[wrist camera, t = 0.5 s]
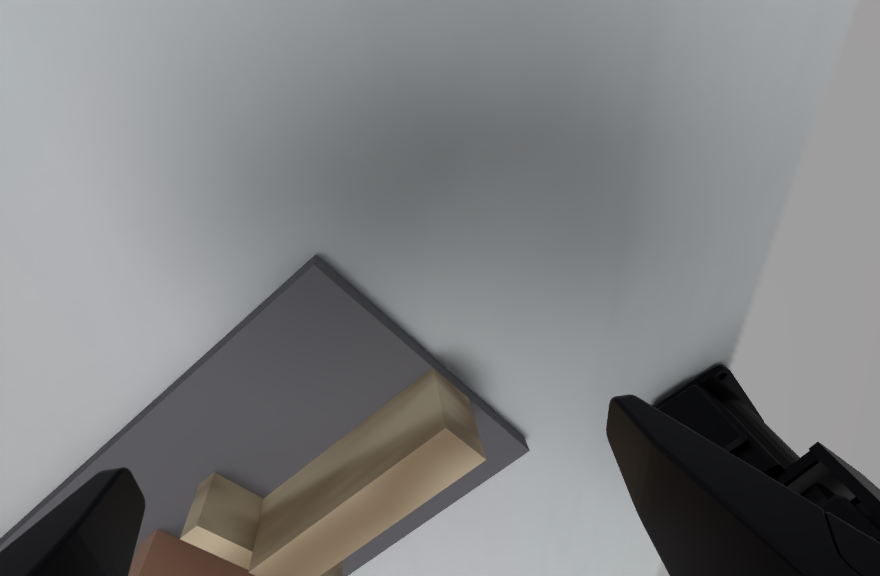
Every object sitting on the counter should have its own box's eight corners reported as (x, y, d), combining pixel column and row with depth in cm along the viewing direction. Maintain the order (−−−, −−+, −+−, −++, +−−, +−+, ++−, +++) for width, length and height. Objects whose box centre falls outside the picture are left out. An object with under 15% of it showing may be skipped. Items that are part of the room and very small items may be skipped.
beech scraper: (503, 428, 26) (526, 491, 22) (329, 552, 29) (325, 624, 25) (388, 329, 22) (394, 387, 18) (198, 484, 25) (172, 560, 21)
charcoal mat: (524, 437, 28) (529, 450, 27) (216, 651, 34) (212, 668, 33) (315, 254, 21) (313, 265, 20) (-31, 567, 26) (-45, 585, 25)
